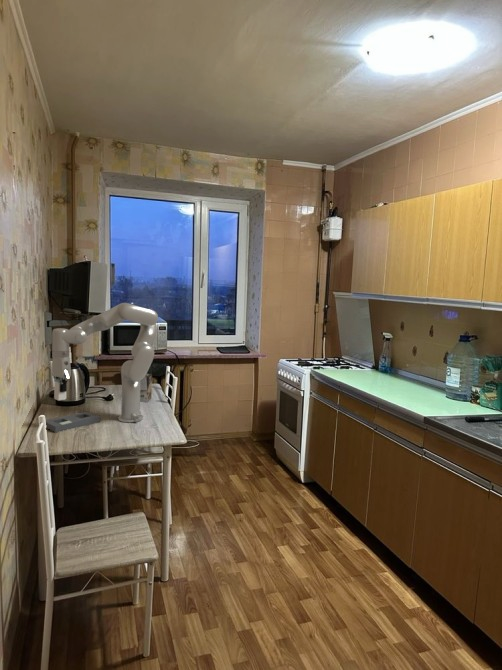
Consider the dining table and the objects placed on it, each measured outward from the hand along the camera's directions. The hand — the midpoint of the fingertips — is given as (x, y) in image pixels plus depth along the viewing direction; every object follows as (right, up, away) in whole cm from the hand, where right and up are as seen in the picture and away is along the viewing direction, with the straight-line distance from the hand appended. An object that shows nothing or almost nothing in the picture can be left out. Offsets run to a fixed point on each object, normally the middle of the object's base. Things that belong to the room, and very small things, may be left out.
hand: (60, 390), depth 217 cm
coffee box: (+27, -14, +59) cm, 66 cm away
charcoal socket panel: (+3, -18, +7) cm, 19 cm away
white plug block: (0, -4, 0) cm, 4 cm away
